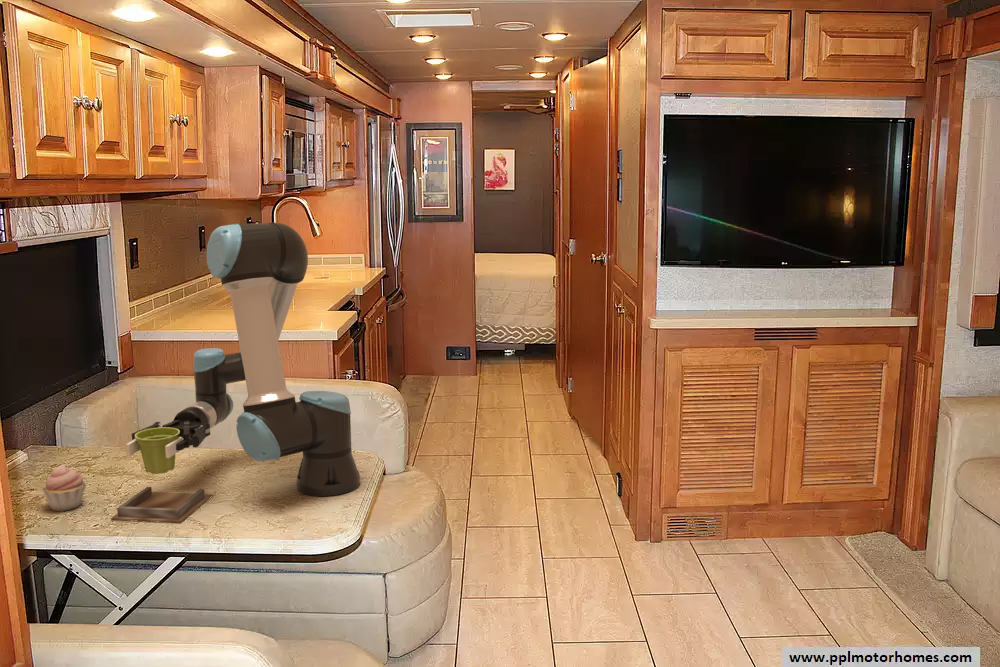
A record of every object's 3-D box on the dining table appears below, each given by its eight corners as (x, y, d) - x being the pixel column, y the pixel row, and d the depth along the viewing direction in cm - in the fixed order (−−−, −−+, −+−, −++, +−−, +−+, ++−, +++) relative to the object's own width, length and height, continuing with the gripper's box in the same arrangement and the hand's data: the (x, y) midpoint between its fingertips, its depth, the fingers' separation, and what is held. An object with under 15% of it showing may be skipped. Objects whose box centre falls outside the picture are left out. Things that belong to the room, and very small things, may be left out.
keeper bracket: (212, 496, 202) (212, 486, 202) (180, 523, 187) (179, 512, 186) (148, 493, 204) (147, 483, 203) (111, 520, 188) (110, 509, 188)
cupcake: (96, 505, 197) (92, 463, 195) (54, 517, 190) (49, 474, 188) (78, 495, 203) (74, 455, 201) (36, 507, 196) (32, 465, 194)
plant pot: (137, 465, 196) (134, 429, 195) (181, 460, 200) (179, 425, 198) (137, 479, 188) (134, 441, 186) (182, 474, 191) (180, 436, 190)
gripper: (236, 437, 210) (194, 469, 188) (154, 433, 212) (103, 465, 190) (235, 407, 208) (192, 436, 186) (152, 404, 211) (100, 432, 189)
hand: (147, 451), depth 188 cm, fingers closed on plant pot, 8 cm apart
